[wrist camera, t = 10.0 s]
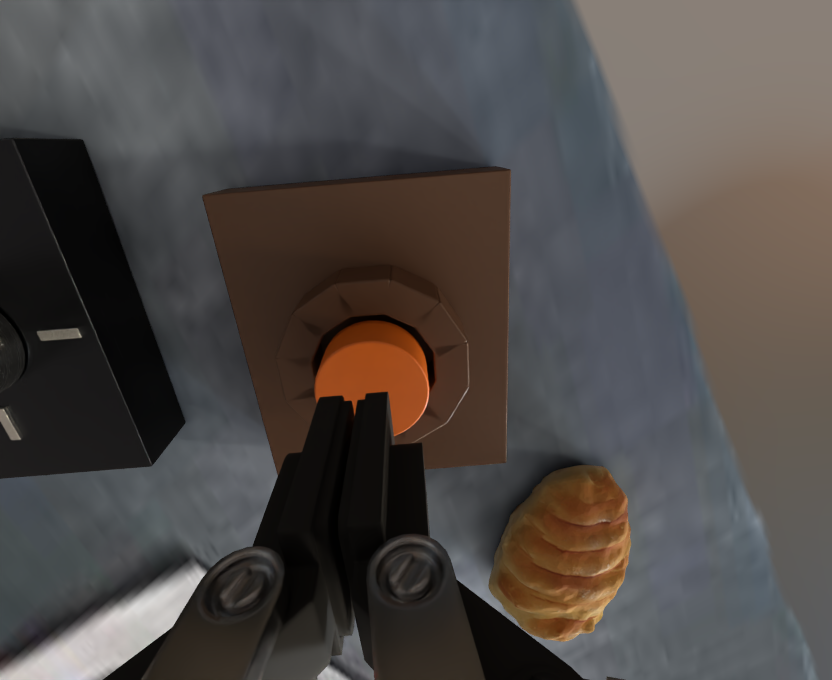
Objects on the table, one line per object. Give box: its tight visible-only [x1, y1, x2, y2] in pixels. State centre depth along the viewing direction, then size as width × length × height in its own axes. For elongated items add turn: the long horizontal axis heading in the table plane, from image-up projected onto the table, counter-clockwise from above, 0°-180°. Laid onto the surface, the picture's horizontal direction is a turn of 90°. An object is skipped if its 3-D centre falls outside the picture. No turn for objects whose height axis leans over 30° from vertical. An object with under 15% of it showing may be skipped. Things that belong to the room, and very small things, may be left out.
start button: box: [314, 320, 429, 436], centre depth 14 cm, size 4×4×2 cm
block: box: [202, 166, 511, 475], centre depth 16 cm, size 12×10×4 cm
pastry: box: [489, 465, 631, 642], centre depth 22 cm, size 9×7×4 cm
